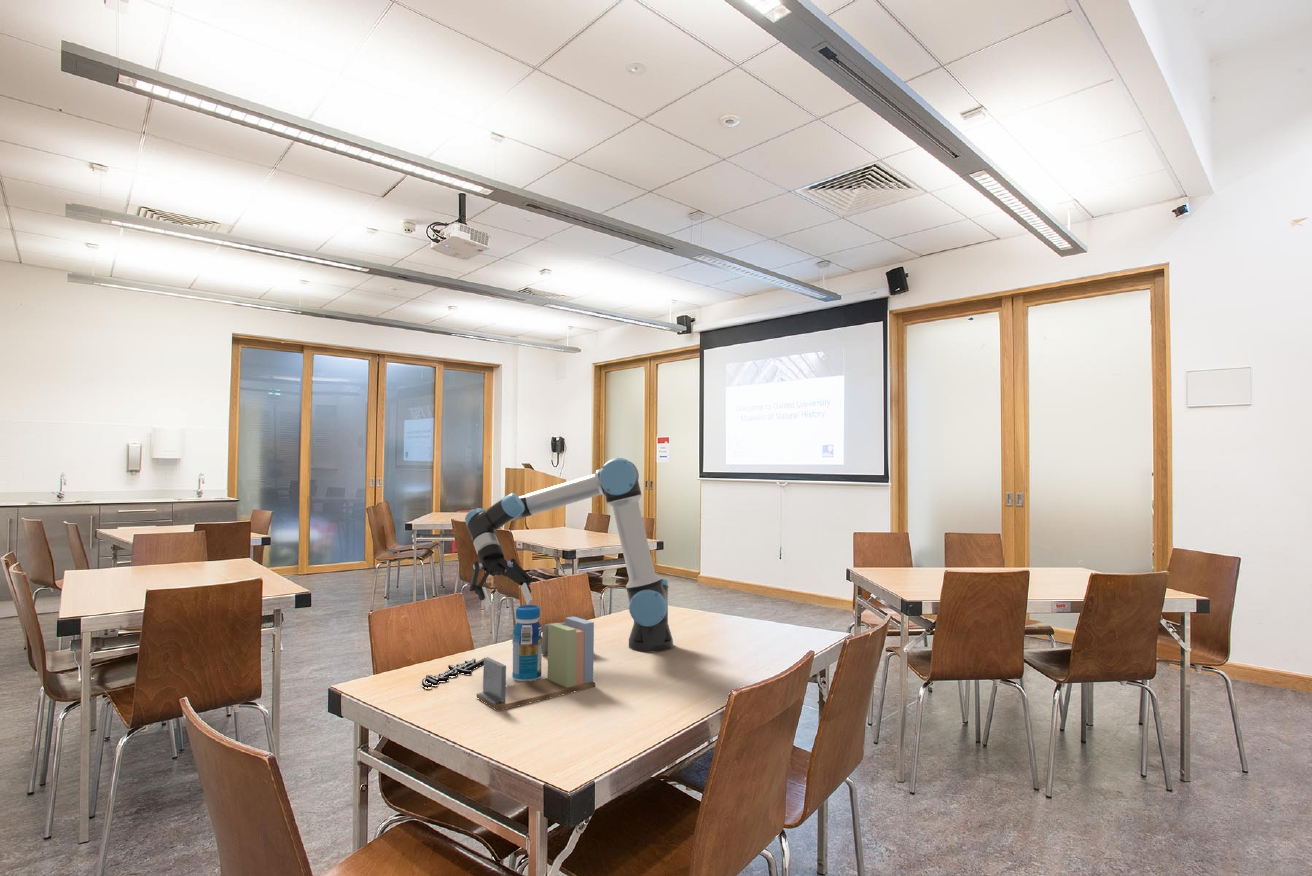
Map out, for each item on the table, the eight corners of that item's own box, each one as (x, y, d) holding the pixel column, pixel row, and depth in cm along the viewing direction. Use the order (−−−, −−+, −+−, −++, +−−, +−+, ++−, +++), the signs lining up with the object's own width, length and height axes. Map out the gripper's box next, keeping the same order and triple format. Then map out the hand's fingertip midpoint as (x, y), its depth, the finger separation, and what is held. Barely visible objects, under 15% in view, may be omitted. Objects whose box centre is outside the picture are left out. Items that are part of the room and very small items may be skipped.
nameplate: (441, 686, 172) (408, 683, 174) (440, 692, 172) (408, 689, 174) (493, 659, 198) (464, 656, 201) (493, 664, 198) (464, 661, 201)
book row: (573, 673, 184) (573, 616, 185) (593, 681, 177) (593, 622, 178) (547, 678, 179) (548, 620, 180) (567, 687, 171) (567, 626, 172)
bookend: (487, 692, 167) (488, 657, 168) (505, 702, 159) (506, 665, 160) (478, 694, 165) (479, 658, 166) (496, 704, 158) (496, 667, 158)
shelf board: (571, 676, 185) (571, 672, 185) (595, 686, 176) (595, 682, 176) (476, 698, 166) (476, 693, 166) (497, 711, 157) (497, 706, 157)
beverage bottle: (505, 679, 182) (506, 607, 184) (526, 671, 189) (528, 602, 191) (526, 684, 178) (528, 611, 179) (548, 676, 185) (549, 606, 186)
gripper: (519, 555, 215) (541, 607, 203) (447, 560, 199) (466, 618, 187) (527, 540, 211) (550, 593, 199) (454, 545, 195) (474, 602, 183)
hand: (510, 605), depth 193 cm, fingers open, 13 cm apart
